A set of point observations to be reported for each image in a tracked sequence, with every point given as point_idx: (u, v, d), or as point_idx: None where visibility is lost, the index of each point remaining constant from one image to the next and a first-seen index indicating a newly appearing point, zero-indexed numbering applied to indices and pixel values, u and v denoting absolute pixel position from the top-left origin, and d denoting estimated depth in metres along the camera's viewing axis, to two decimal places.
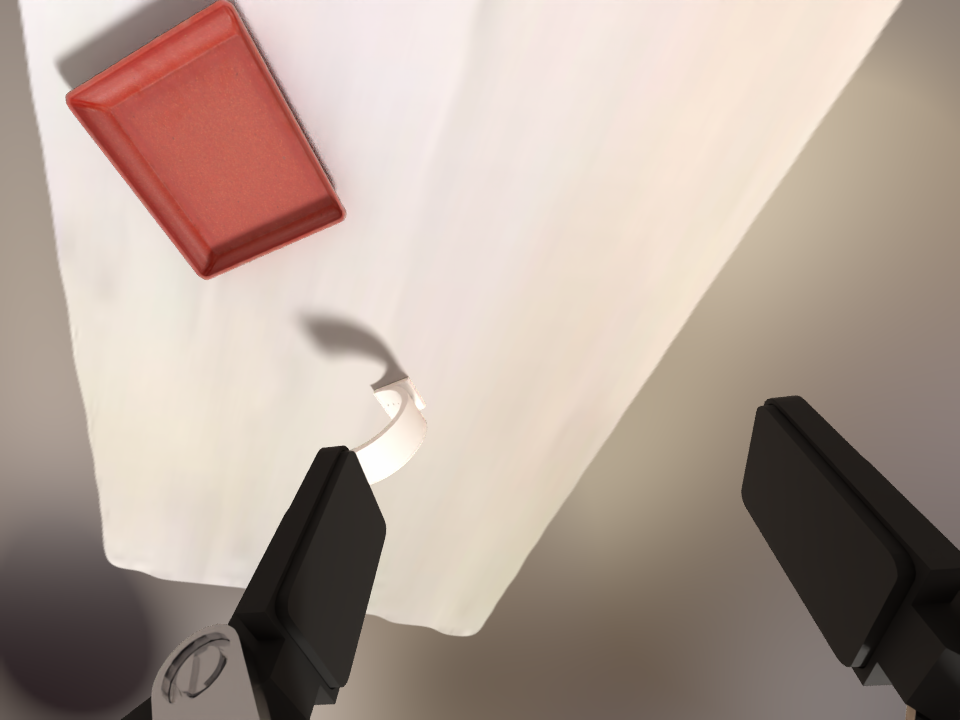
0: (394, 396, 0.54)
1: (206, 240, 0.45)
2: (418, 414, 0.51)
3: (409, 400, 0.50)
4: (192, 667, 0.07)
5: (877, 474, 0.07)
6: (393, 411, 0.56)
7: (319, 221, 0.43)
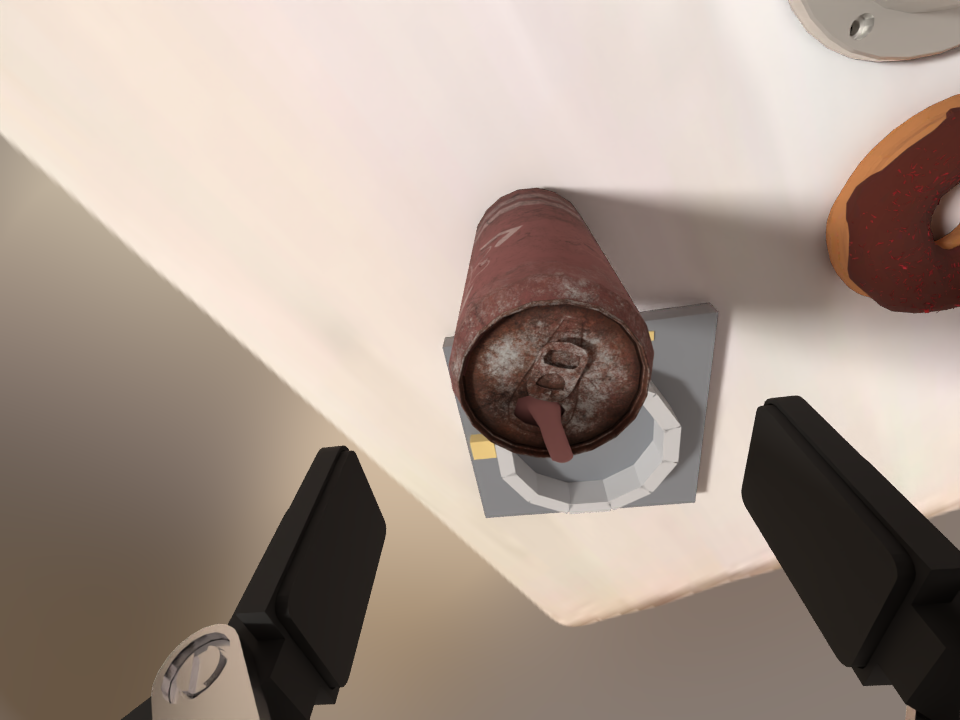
0: None
1: None
2: None
3: None
4: (192, 667, 0.07)
5: (877, 474, 0.07)
6: None
7: None
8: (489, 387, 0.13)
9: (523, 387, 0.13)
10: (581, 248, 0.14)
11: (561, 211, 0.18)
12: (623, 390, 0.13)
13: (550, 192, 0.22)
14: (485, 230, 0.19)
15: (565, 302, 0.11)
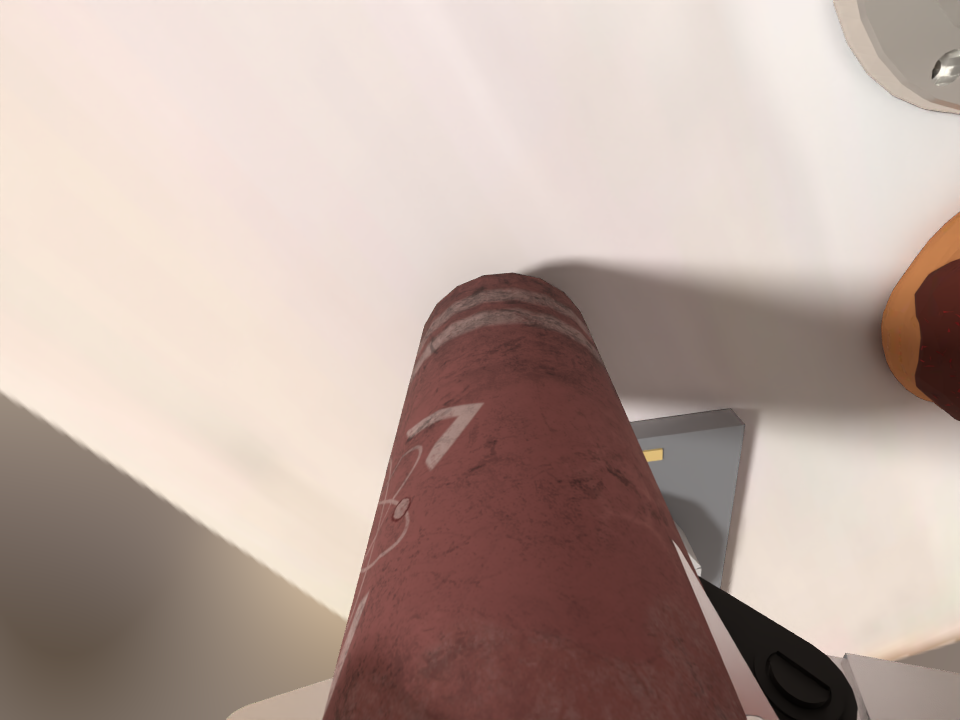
0: None
1: None
2: None
3: None
4: None
5: None
6: None
7: None
8: None
9: None
10: (608, 509, 0.06)
11: (554, 340, 0.11)
12: None
13: (533, 281, 0.14)
14: (425, 368, 0.11)
15: None
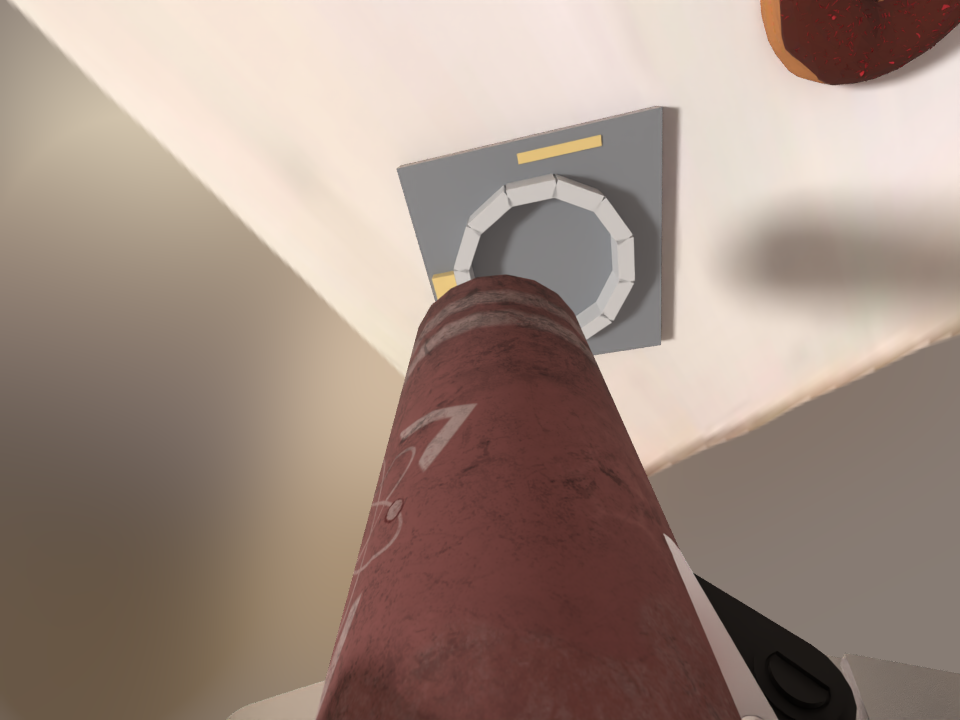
0: None
1: None
2: None
3: None
4: None
5: None
6: None
7: None
8: None
9: None
10: (601, 508, 0.06)
11: (547, 341, 0.11)
12: None
13: (527, 282, 0.14)
14: (419, 370, 0.11)
15: None
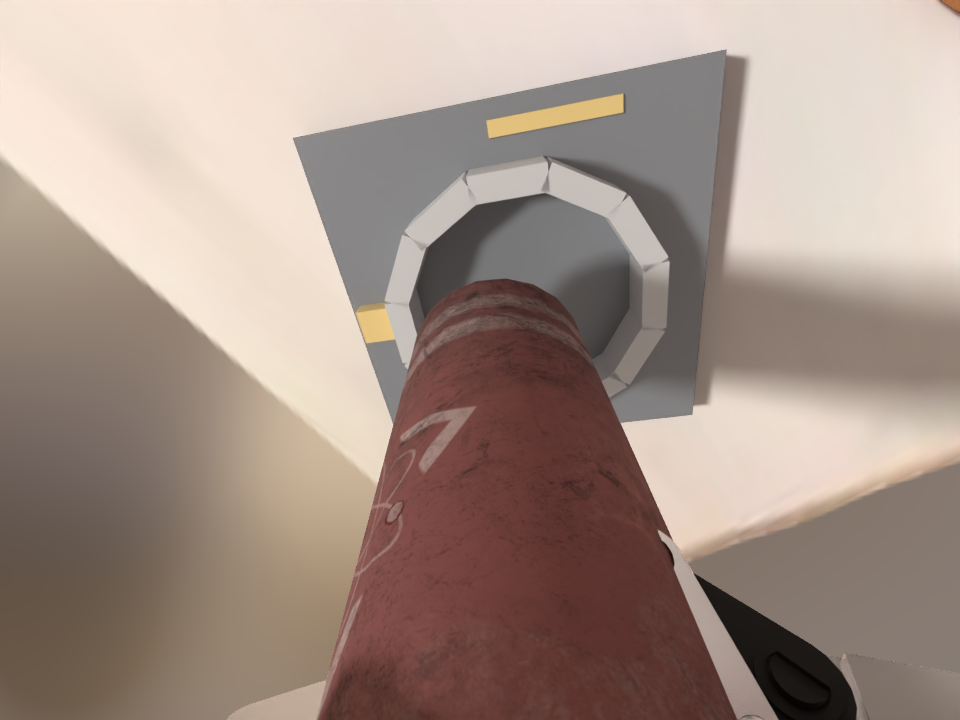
0: None
1: None
2: None
3: None
4: None
5: None
6: None
7: None
8: None
9: None
10: (599, 510, 0.06)
11: (546, 345, 0.11)
12: None
13: (526, 286, 0.14)
14: (418, 373, 0.11)
15: None
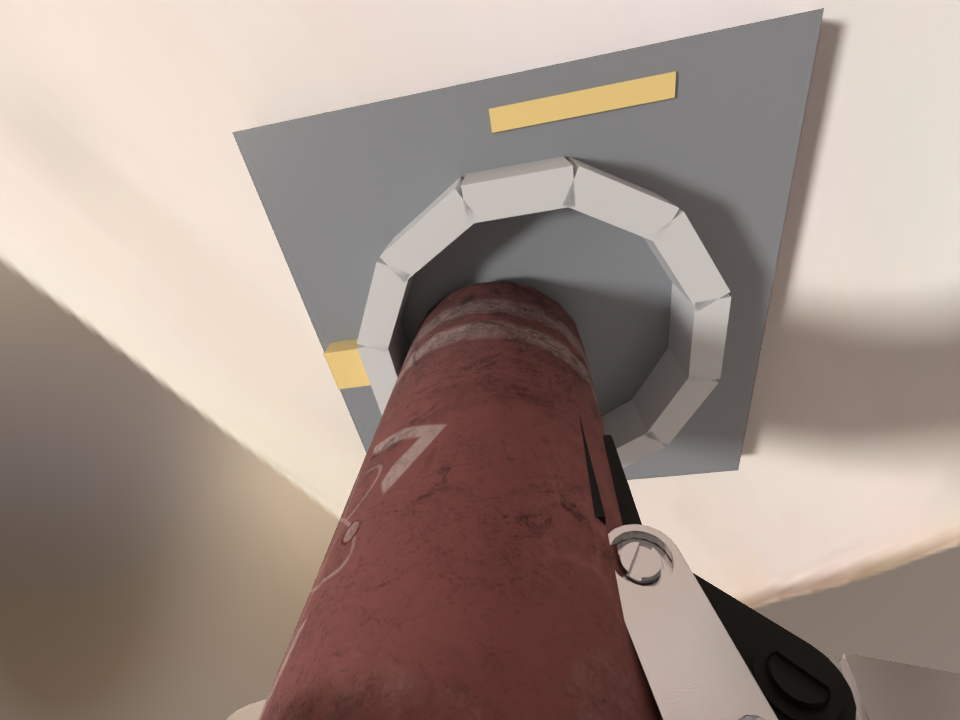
0: None
1: None
2: None
3: None
4: None
5: (586, 449, 0.08)
6: None
7: None
8: None
9: None
10: (551, 550, 0.06)
11: (533, 357, 0.10)
12: None
13: (525, 290, 0.14)
14: (403, 380, 0.11)
15: None
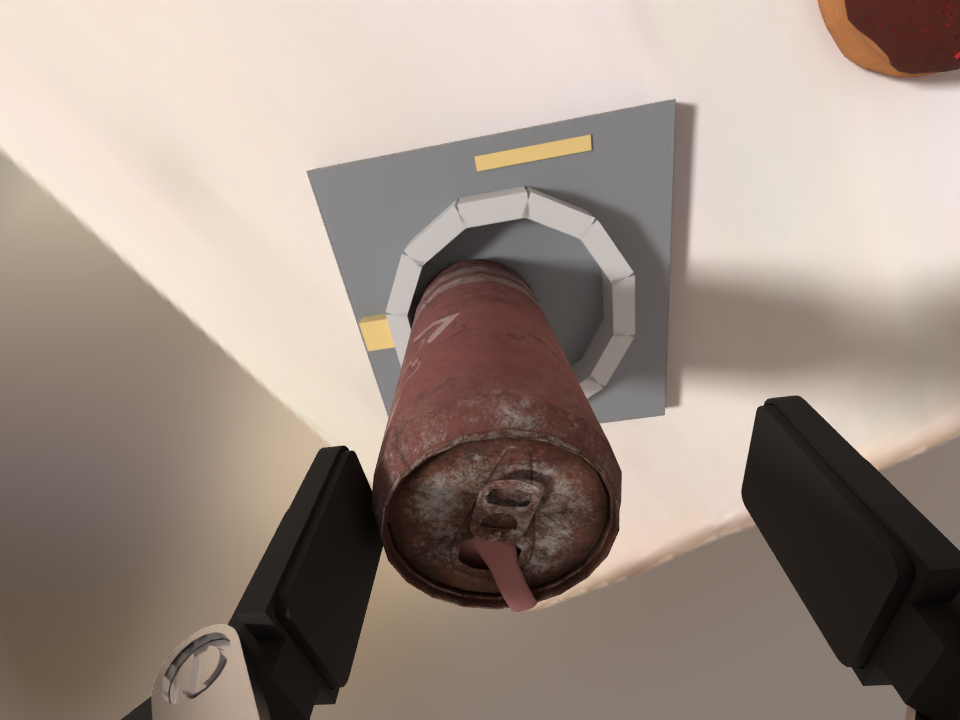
0: None
1: None
2: None
3: None
4: (192, 667, 0.07)
5: (877, 474, 0.07)
6: None
7: None
8: (423, 533, 0.10)
9: (466, 529, 0.10)
10: (525, 343, 0.12)
11: (504, 288, 0.17)
12: (589, 522, 0.10)
13: (494, 263, 0.20)
14: (422, 313, 0.17)
15: (504, 435, 0.09)
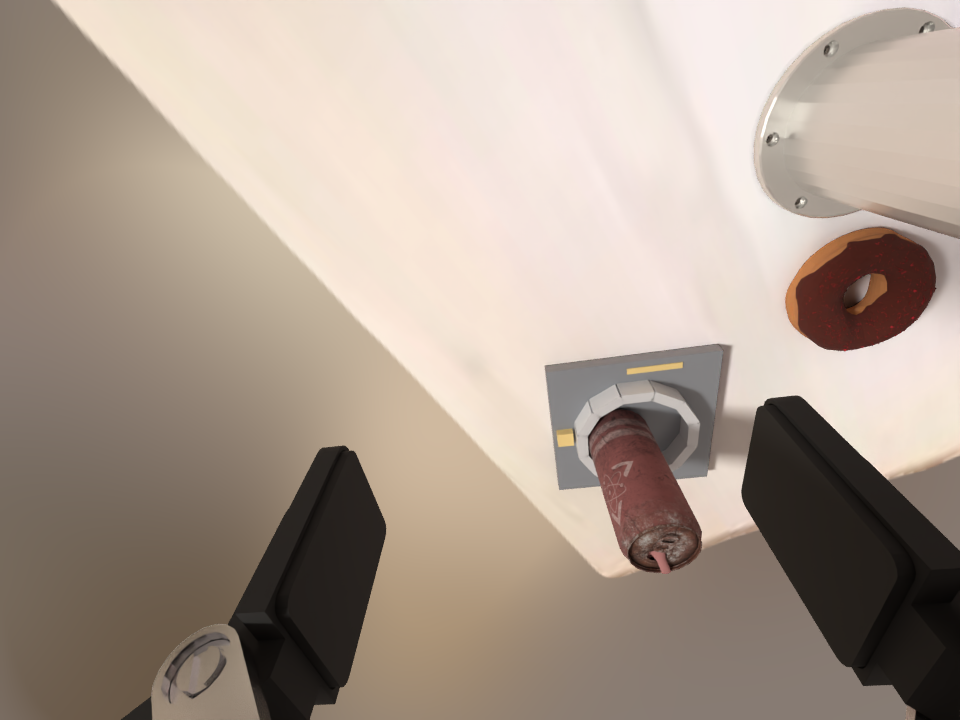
0: None
1: None
2: None
3: None
4: (192, 667, 0.07)
5: (877, 474, 0.07)
6: None
7: None
8: (638, 549, 0.33)
9: (651, 548, 0.33)
10: (665, 482, 0.34)
11: (643, 439, 0.38)
12: (690, 547, 0.32)
13: (629, 413, 0.42)
14: (606, 448, 0.39)
15: (671, 526, 0.31)
